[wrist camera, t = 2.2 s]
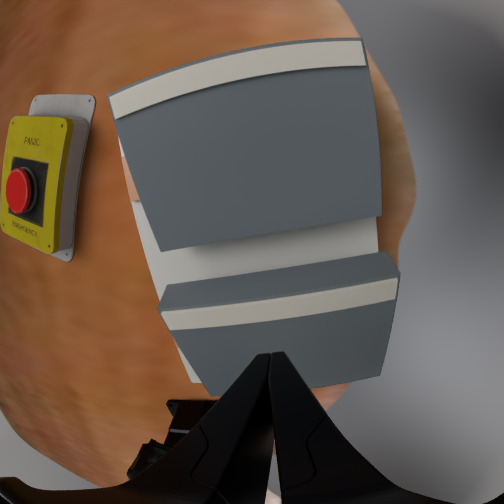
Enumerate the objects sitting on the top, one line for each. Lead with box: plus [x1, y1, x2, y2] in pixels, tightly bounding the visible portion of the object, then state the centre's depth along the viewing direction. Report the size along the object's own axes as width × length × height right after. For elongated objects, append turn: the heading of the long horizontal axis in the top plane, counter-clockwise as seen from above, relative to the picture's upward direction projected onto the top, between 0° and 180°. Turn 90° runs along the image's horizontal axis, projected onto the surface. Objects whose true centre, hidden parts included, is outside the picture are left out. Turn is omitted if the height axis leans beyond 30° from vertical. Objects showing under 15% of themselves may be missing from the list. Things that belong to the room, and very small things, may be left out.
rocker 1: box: [107, 38, 382, 252], centre depth 13 cm, size 9×12×2 cm
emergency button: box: [0, 94, 96, 262], centre depth 18 cm, size 9×4×15 cm
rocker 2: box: [157, 251, 400, 396], centre depth 16 cm, size 9×12×2 cm
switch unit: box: [118, 136, 378, 383], centre depth 17 cm, size 22×15×4 cm
